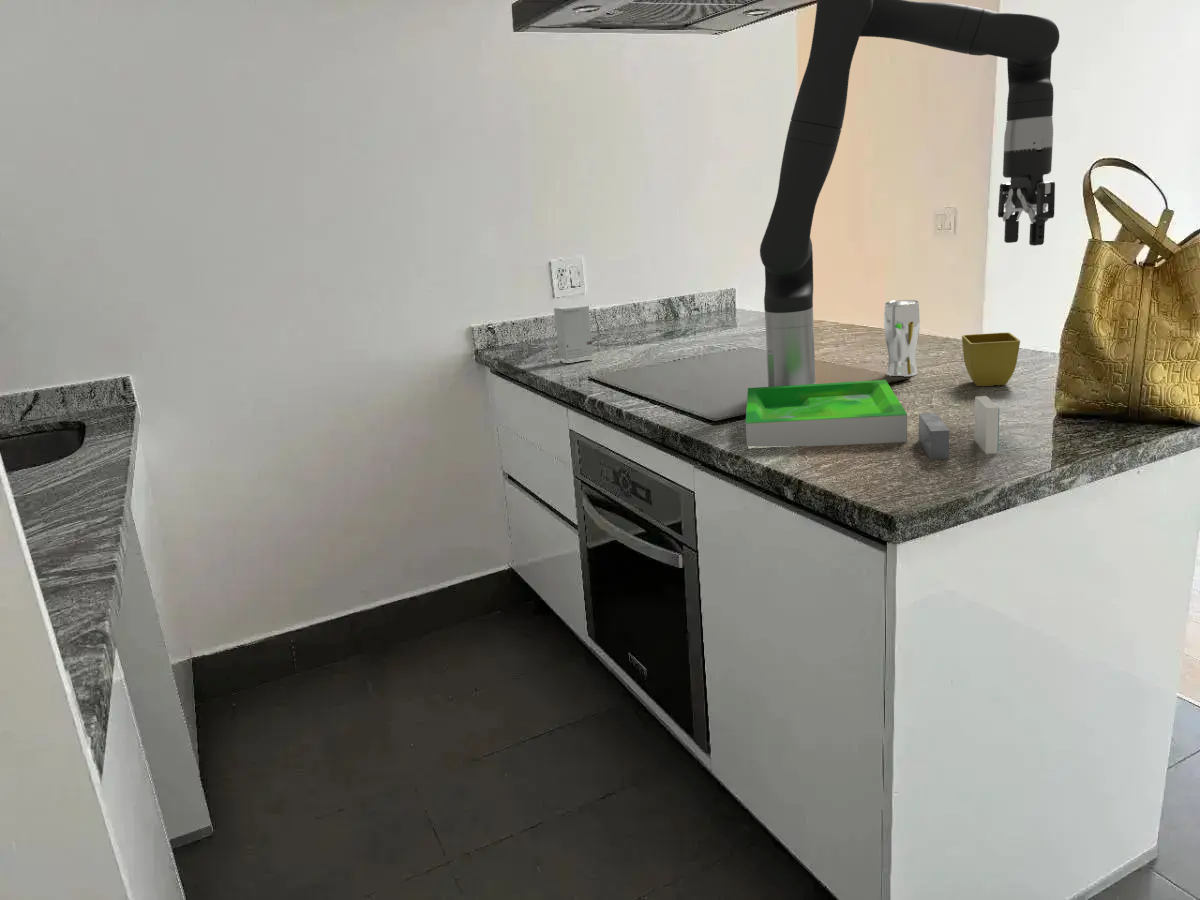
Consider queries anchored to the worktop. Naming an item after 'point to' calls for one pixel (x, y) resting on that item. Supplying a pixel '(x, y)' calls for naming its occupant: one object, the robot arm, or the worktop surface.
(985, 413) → the tile
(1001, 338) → the flower pot
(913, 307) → the beer glass
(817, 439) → the tray
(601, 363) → the worktop surface
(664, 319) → the worktop surface
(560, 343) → the skincare box
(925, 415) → the gray rectangular block
